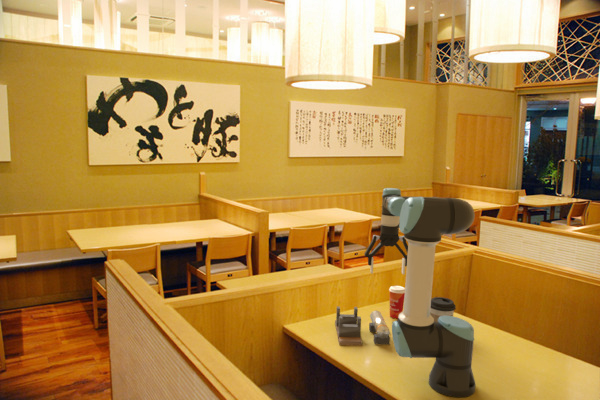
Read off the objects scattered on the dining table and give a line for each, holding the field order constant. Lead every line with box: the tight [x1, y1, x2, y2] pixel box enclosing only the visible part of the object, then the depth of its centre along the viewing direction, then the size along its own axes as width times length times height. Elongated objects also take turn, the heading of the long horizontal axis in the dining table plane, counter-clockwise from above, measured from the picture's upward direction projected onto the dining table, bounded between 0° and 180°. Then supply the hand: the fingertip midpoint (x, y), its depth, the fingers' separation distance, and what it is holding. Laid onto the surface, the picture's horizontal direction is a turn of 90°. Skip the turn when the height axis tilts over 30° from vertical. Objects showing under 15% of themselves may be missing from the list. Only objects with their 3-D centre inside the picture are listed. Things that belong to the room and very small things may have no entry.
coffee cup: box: [430, 296, 457, 322], centre depth 205 cm, size 11×11×15 cm
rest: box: [368, 322, 391, 345], centre depth 201 cm, size 15×6×3 cm, turn 1°
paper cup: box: [388, 285, 405, 320], centre depth 224 cm, size 8×8×14 cm
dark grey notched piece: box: [334, 306, 363, 346], centre depth 203 cm, size 22×9×10 cm, turn 1°
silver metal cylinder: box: [369, 310, 391, 339], centre depth 201 cm, size 18×5×5 cm, turn 1°
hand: (387, 273), depth 206 cm, fingers open, 13 cm apart
